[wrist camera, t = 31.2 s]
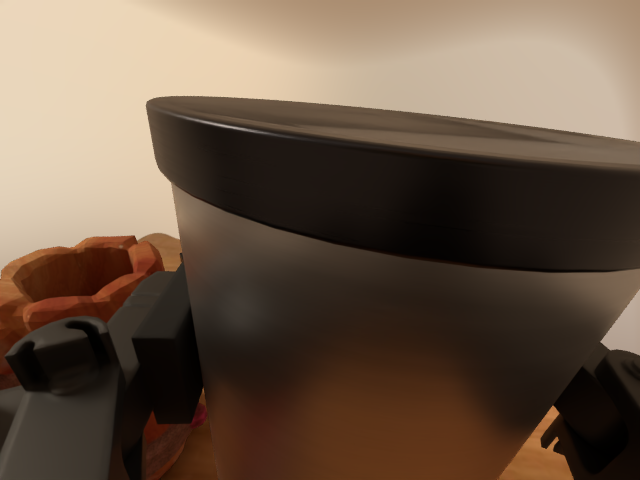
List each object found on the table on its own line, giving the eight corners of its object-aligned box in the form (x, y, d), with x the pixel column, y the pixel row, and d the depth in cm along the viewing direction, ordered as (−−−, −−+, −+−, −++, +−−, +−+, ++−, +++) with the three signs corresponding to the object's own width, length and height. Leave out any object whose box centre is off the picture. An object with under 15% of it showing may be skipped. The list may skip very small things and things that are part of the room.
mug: (165, 364, 24) (126, 200, 18) (236, 414, 21) (223, 237, 14) (-131, 597, 13) (-599, 378, 6) (-72, 785, 10) (-942, 795, 3)
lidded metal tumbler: (166, 620, 7) (-149, 95, 2) (253, 355, 15) (244, 96, 9) (491, 658, 7) (1236, 229, 2) (413, 372, 15) (501, 121, 9)
